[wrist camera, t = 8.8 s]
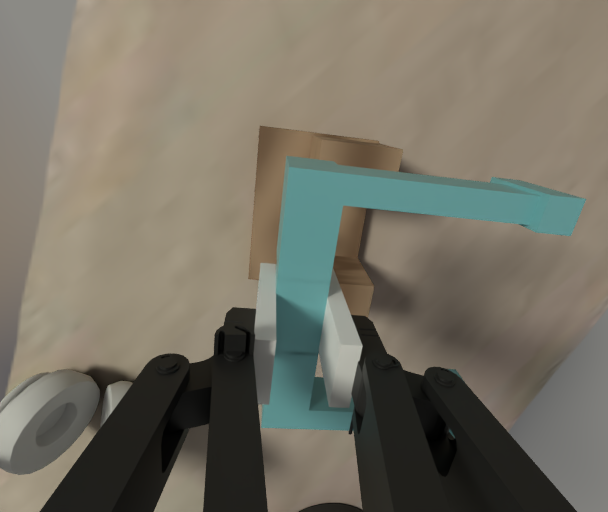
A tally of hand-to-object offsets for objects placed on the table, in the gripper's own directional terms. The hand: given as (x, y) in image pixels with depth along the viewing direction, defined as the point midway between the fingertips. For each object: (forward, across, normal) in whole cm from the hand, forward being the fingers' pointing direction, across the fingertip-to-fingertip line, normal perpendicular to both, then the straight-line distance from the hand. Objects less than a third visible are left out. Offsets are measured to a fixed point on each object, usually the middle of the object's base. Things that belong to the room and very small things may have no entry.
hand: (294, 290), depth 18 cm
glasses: (0, -5, 0) cm, 5 cm away
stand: (+19, -2, 0) cm, 19 cm away
